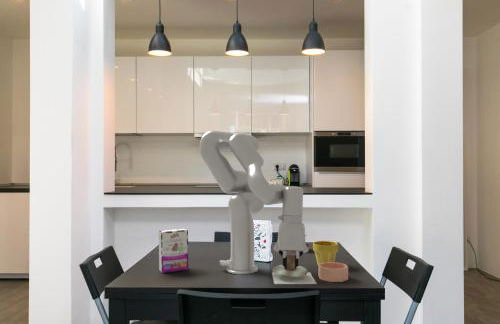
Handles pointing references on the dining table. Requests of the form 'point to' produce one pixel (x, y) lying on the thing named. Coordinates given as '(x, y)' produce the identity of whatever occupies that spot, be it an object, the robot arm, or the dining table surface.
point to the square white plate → (293, 279)
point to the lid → (290, 268)
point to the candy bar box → (173, 250)
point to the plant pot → (325, 251)
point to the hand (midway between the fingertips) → (290, 267)
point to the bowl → (333, 271)
